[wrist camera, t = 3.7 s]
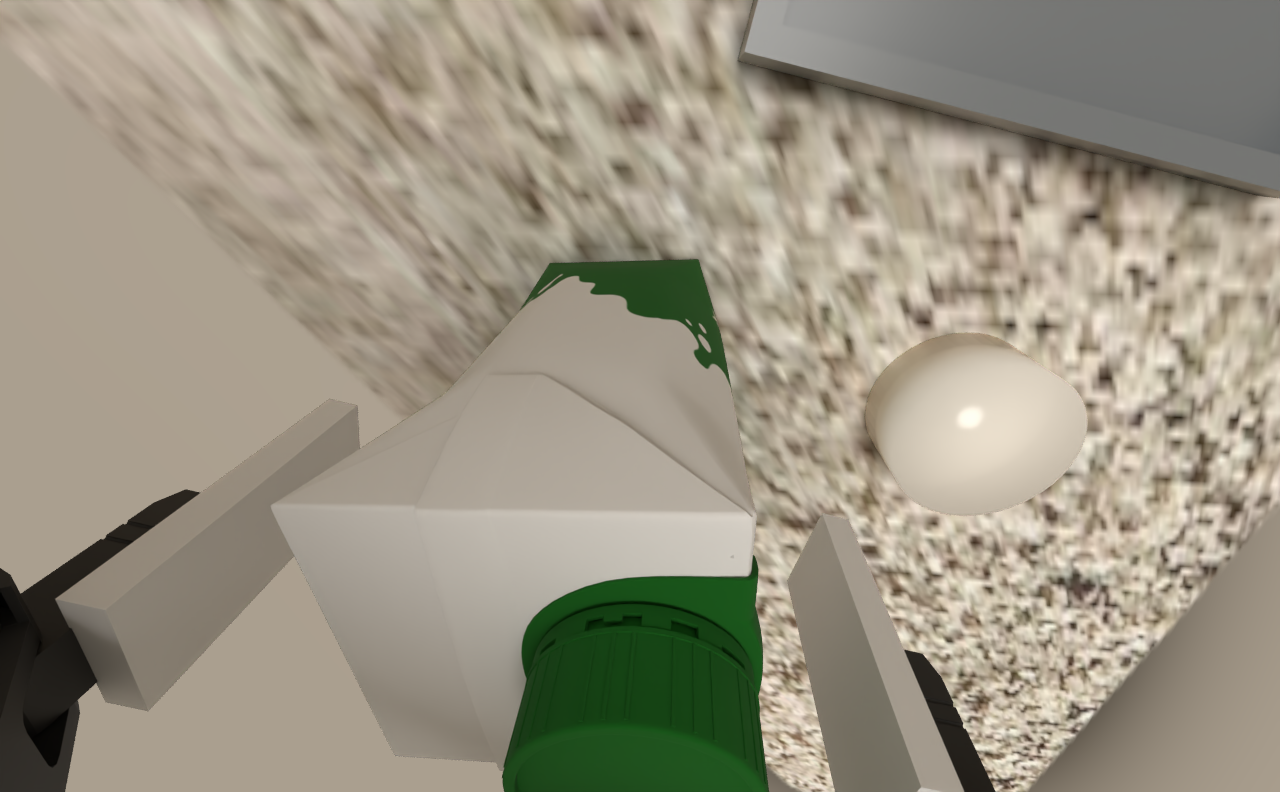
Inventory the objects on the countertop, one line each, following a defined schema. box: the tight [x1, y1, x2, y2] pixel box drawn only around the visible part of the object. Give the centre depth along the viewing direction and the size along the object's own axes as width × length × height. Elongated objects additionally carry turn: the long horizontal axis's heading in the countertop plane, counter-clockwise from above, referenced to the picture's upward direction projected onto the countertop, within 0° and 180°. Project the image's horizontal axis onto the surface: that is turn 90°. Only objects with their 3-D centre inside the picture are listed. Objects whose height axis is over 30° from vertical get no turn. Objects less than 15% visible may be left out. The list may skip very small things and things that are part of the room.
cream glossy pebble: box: [865, 332, 1087, 516], centre depth 24 cm, size 8×8×4 cm
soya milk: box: [271, 259, 769, 792], centre depth 16 cm, size 9×9×20 cm
